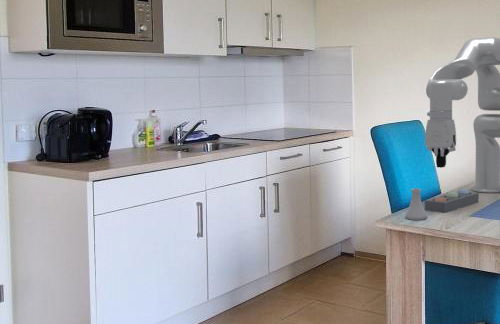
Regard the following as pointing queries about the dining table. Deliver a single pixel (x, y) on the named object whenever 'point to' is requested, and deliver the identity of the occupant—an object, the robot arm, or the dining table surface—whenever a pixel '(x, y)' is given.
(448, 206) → the console
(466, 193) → the slate button
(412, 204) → the flask
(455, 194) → the sage button
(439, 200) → the terracotta button
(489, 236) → the dining table surface
